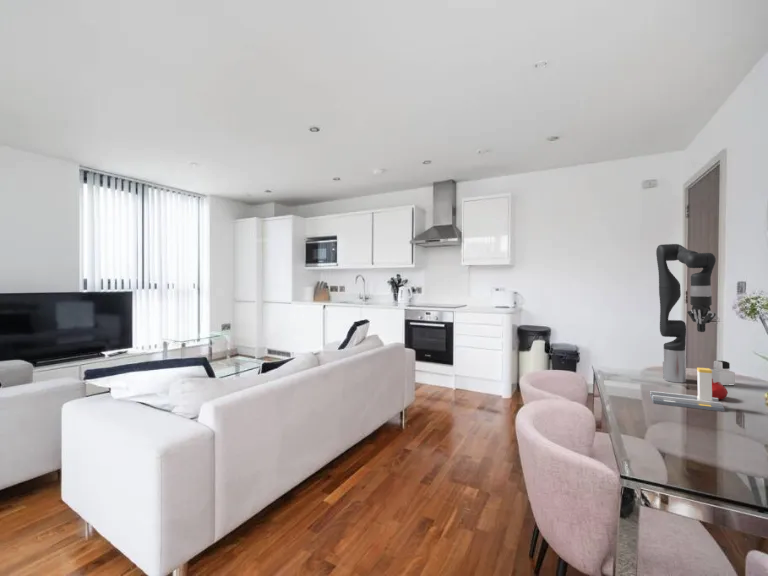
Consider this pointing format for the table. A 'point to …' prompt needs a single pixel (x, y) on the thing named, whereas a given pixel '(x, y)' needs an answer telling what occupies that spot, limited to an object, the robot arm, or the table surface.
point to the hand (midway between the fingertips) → (701, 331)
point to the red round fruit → (718, 391)
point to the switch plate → (685, 401)
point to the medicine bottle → (723, 373)
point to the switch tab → (704, 384)
